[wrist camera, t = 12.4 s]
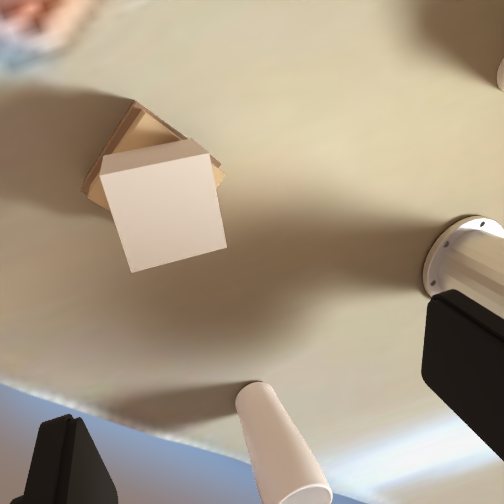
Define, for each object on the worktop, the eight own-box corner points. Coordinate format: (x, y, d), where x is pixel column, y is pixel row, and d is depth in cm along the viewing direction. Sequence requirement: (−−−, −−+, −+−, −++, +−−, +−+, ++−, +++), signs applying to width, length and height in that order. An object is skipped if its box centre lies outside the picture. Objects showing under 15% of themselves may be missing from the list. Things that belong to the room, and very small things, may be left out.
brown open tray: (214, 164, 32) (226, 175, 28) (166, 230, 33) (172, 248, 29) (142, 109, 28) (145, 113, 25) (90, 184, 29) (87, 198, 26)
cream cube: (191, 138, 26) (209, 153, 21) (207, 217, 29) (227, 247, 24) (103, 155, 25) (99, 175, 20) (128, 236, 28) (131, 273, 23)
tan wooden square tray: (211, 155, 35) (221, 163, 32) (164, 224, 37) (168, 239, 33) (134, 99, 31) (136, 102, 28) (84, 178, 33) (80, 190, 29)
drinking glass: (283, 400, 51) (339, 510, 38) (237, 423, 50) (279, 543, 37) (270, 366, 48) (326, 473, 35) (221, 390, 47) (260, 509, 34)
